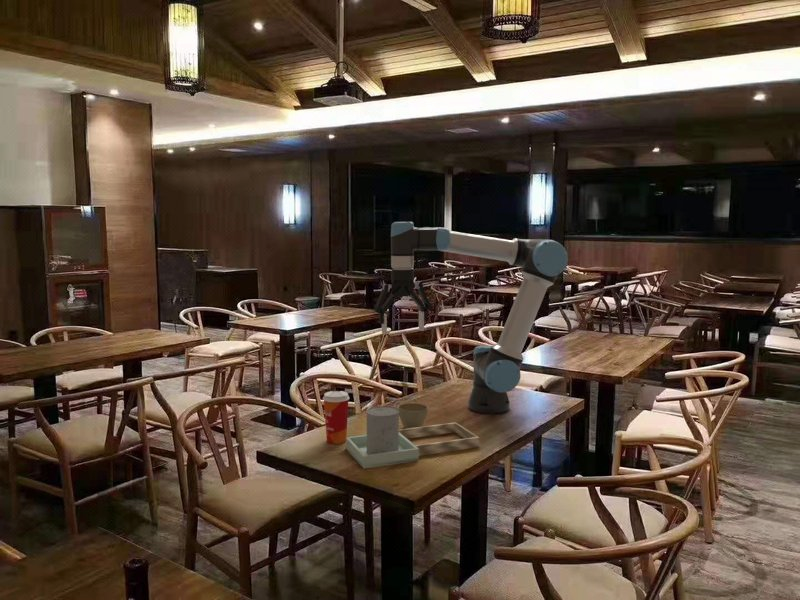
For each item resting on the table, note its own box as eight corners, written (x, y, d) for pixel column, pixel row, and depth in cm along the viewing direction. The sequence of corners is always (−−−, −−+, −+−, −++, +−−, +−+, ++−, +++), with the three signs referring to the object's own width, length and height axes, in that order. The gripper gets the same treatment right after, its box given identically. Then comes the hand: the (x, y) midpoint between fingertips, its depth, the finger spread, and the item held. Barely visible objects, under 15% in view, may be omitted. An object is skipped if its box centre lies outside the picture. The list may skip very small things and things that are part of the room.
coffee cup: (323, 436, 200) (323, 390, 198) (349, 436, 200) (349, 390, 199) (322, 446, 191) (322, 397, 190) (349, 445, 192) (349, 397, 190)
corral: (455, 431, 206) (456, 422, 205) (479, 447, 191) (479, 437, 191) (394, 439, 198) (394, 430, 197) (413, 456, 183) (413, 446, 183)
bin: (397, 441, 195) (397, 431, 195) (418, 460, 180) (418, 448, 180) (345, 448, 189) (345, 437, 189) (363, 468, 174) (363, 456, 173)
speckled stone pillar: (403, 448, 188) (403, 408, 186) (392, 459, 179) (392, 417, 177) (373, 444, 191) (373, 405, 189) (361, 455, 182) (361, 414, 180)
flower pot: (425, 433, 203) (425, 412, 202) (394, 431, 205) (394, 410, 204) (430, 424, 213) (430, 403, 212) (400, 422, 215) (401, 401, 214)
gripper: (431, 266, 217) (431, 327, 220) (363, 269, 207) (364, 332, 210) (441, 267, 210) (441, 330, 213) (371, 270, 201) (372, 336, 203)
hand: (403, 331), depth 212 cm, fingers open, 13 cm apart
